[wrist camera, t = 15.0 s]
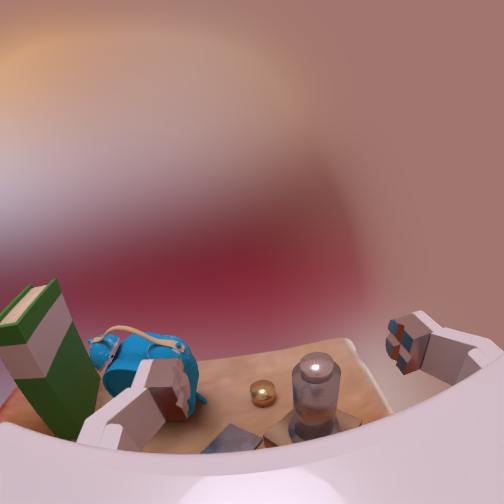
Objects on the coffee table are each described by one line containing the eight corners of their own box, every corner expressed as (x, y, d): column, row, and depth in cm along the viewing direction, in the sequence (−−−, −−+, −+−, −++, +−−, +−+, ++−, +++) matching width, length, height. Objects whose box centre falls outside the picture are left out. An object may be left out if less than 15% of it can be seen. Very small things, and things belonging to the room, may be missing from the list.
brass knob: (264, 411, 39) (262, 400, 38) (247, 400, 42) (244, 389, 41) (280, 397, 42) (279, 386, 41) (263, 387, 44) (261, 376, 43)
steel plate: (231, 478, 27) (230, 475, 27) (199, 459, 31) (197, 456, 30) (263, 441, 33) (262, 438, 33) (231, 427, 37) (230, 423, 36)
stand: (319, 478, 25) (320, 470, 24) (264, 445, 32) (262, 435, 31) (359, 430, 32) (362, 420, 31) (307, 406, 39) (307, 395, 38)
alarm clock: (218, 392, 44) (192, 296, 38) (209, 436, 35) (170, 338, 28) (137, 387, 46) (99, 300, 40) (118, 424, 36) (65, 333, 30)
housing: (318, 458, 26) (325, 395, 22) (278, 434, 31) (270, 368, 27) (348, 423, 31) (360, 354, 26) (309, 405, 36) (309, 336, 31)
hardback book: (73, 380, 46) (28, 284, 39) (100, 377, 48) (56, 278, 40) (58, 438, 30) (-14, 329, 22) (90, 438, 32) (17, 324, 24)
